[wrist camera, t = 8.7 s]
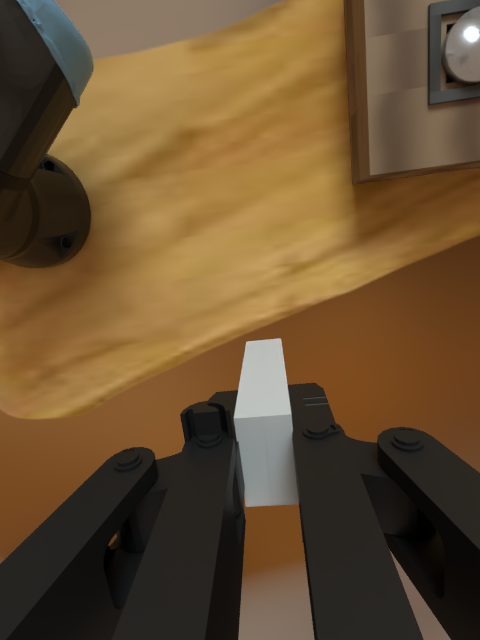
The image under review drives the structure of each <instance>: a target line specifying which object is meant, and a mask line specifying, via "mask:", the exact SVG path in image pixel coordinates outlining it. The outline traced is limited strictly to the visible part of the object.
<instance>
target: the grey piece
mask: <svg viewBox="0 0 480 640" xmlns="http://www.w3.org/2000/svg"><path fill="white" fill-rule="evenodd" d="M441 63H442V66H443V69H444V71H445V73H446V83H453V82H456V83H458V84H461V85H475V84H478V83H480V6H479V7H476V8H473V9H471V10H470V11H468V12H467V13H465V14H464V15H463V16H462V17H461V18H460V19H459V20H458V21H457V22H456V23H455V24H454V25H453V26H452V27H451V29H450V30H449V31H448V33H447V35H446V36H445V39H444V41H443V44H442V49H441Z"/></svg>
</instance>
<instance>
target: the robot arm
mask: <svg viewBox="0 0 480 640" xmlns="http://www.w3.org/2000/svg"><path fill="white" fill-rule="evenodd" d="M93 67H94V66H93V58H92V55H91V51H90V49H89V47H88V45H87V43H86V41H85V40H84V38H83V36H82V35H81V34H80V32H79V31H78V29H77V28H76V27H75V25H74V24H73V22H72V21H71V20H70V19H69V18H68V16H67V15H66V14H65V12H64V11H63V10H62V9H61V7H60V6H59V5H58V4H57V3H56V1H55V0H0V260H2V261H5V262H8V263H11V264H15V265H18V266H21V267H26V268H46V267H51V266H56V265H59V264H62V263H64V262H66V261H68V260H69V259H71V258H72V257H73V256H74V255H76V254H77V252H78V251H79V250H80V249H81V247H82V246H83V244H84V242H85V240H86V238H87V235H88V232H89V228H90V206H89V201H88V198H87V195H86V192H85V190H84V188H83V186H82V184H81V182H80V181H79V179H78V178H77V176H76V175H75V174H74V173H73V171H72V170H71V169H70V168H69V167H67V166H66V165H65V164H64V163H63V162H61V161H60V160H58V159H57V158H55V157H53V156H51V155H48V154H47V152H48V150H49V149H50V147H51V145H52V144H53V142H54V140H55V138H56V137H57V135H58V133H59V132H60V130H61V128H62V127H63V125H64V123H65V121H66V120H67V118H68V116H69V115H70V113H71V111H72V110H73V108H77V107H78V106H79V103H80V96H81V95H82V93H83V91H84V89H85V87H86V85H87V83H88V81H89V79H90V77H91V75H92V72H93ZM180 416H181V422H182V427H183V432H184V438H185V444H184V447H183V449H182V452H180V453H178V454H175V455H172V456H169V457H166V458H162V459H158V460H155V454H154V452H153V451H152V450H150V449H148V448H144V447H136V448H135V447H134V448H130V449H125V450H123V451H121V452H119V453H117V454H115V455H113V456H112V457H111V458H109V459H108V460H107V461H106V462H105V463H104V464H103V465H102V466H101V467H100V468H99V469H98V470H97V471H95V472H94V473H93V474H92V475H91V476H90V477H89V478H88V479H87V480H86V481H85V482H84V483H83V484H82V485H81V486H80V487H79V488H78V489H77V490H76V491H75V492H74V493H73V494H72V495H71V496H70V497H69V498H68V499H67V500H66V501H65V502H64V503H63V504H62V505H61V506H59V507H58V508H57V510H55V511H54V512H53V513H52V514H51V515H50V516H49V517H48V518H47V519H46V520H45V521H44V522H43V523H42V524H41V525H40V526H39V527H38V528H37V529H36V530H35V531H34V532H33V533H32V534H31V535H30V536H29V537H28V538H27V539H26V540H25V541H23V542H22V543H21V544H20V546H18V547H17V548H16V549H15V550H14V551H13V552H12V553H11V554H10V555H9V556H8V557H7V558H6V559H5V560H4V561H3V562H2V563H1V564H0V640H238V634H239V633H238V632H239V617H240V602H241V587H242V571H243V555H244V539H245V524H246V520H245V513H244V506H243V504H244V496H245V503H246V507H250V506H269V505H287V504H288V505H289V504H299V507H300V519H301V529H302V538H303V544H304V553H305V561H306V570H307V578H308V587H309V596H310V604H311V613H312V621H313V630H314V639H315V640H423V637H422V634H421V632H420V629H419V626H418V624H417V621H416V619H415V616H414V613H413V611H412V608H411V605H410V603H409V600H408V598H407V595H406V593H405V590H404V587H403V585H402V582H401V579H400V577H399V574H398V571H397V569H396V566H395V563H394V561H393V558H392V556H391V553H390V551H391V552H392V554H393V555H394V557H395V558H396V560H397V561H398V562H399V564H400V565H401V567H402V568H403V570H404V571H405V573H406V574H407V576H408V577H409V579H410V580H411V582H412V583H413V585H414V586H415V587H416V589H417V590H418V592H419V593H420V595H421V596H422V598H423V599H424V601H425V602H426V604H427V605H428V606H429V608H430V609H431V611H432V612H433V614H434V615H435V617H436V618H437V620H438V621H439V622H440V624H441V625H442V627H443V628H444V630H445V631H446V633H447V634H448V636H449V637H450V639H451V640H480V473H479V472H478V471H476V470H475V469H474V468H472V467H471V466H470V465H469V464H467V463H466V462H464V461H463V460H462V459H461V458H459V457H458V456H457V455H455V454H454V453H453V452H451V451H450V450H449V449H448V448H447V447H445V446H444V445H443V444H441V443H440V442H439V441H438V440H436V439H435V438H434V437H432V436H430V435H429V434H427V433H425V432H423V431H420V430H417V429H413V428H408V427H407V428H406V427H399V428H390V429H388V430H385V431H383V432H382V433H381V434H379V435H378V439H377V443H372V442H364V441H359V440H355V439H352V438H349V437H348V436H346V435H345V433H344V430H343V429H342V428H341V426H340V425H338V424H336V423H335V420H334V417H333V414H332V412H331V409H330V406H329V404H328V400H327V398H326V395H325V392H324V389H323V388H321V387H320V386H318V385H317V384H316V383H306V384H295V385H287V379H286V372H285V364H284V357H283V351H282V343H281V339H270V340H259V341H249V342H246V348H245V354H244V360H243V366H242V372H241V378H240V384H239V390H236V391H224V392H216V393H215V394H214V395H213V396H212V397H211V398H210V399H209V400H208V401H204V402H199V403H196V404H193V405H191V406H189V407H187V408H186V409H184V410H183V412H182V413H181V414H180ZM115 534H117V538H116V540H115V541H114V542H113V543H112V544H111V545H110V546H108V544H109V542H110V540H111V539H112V537H113V536H114V535H115ZM389 549H390V550H389Z"/></svg>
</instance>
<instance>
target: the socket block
mask: <svg viewBox="0 0 480 640" xmlns="http://www.w3.org/2000/svg"><path fill="white" fill-rule="evenodd" d="M479 6H480V0H344V11H345V33H346V55H347V77H348V99H349V121H350V144H351V166H352V184H358V183H366V182H373V181H381V180H388V179H395V178H403V177H410V176H418V175H425V174H433V173H440V172H447V171H455V170H462V169H470V168H477V167H480V83H478V84H475V85H461V84H458V83H456V82H453V83H446V73H445V71H444V69H443V66H442V63H441V49H442V44H443V41H444V39H445V36H446V35H447V33H448V31H449V30H450V29H451V27H452V26H453V25H454V24H455V23H456V22H457V21H458V20H459V19H460V18H461V17H462V16H463V15H464V14H465V13H467V12H468V11H470V10H471V9H473V8H476V7H479Z"/></svg>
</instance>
